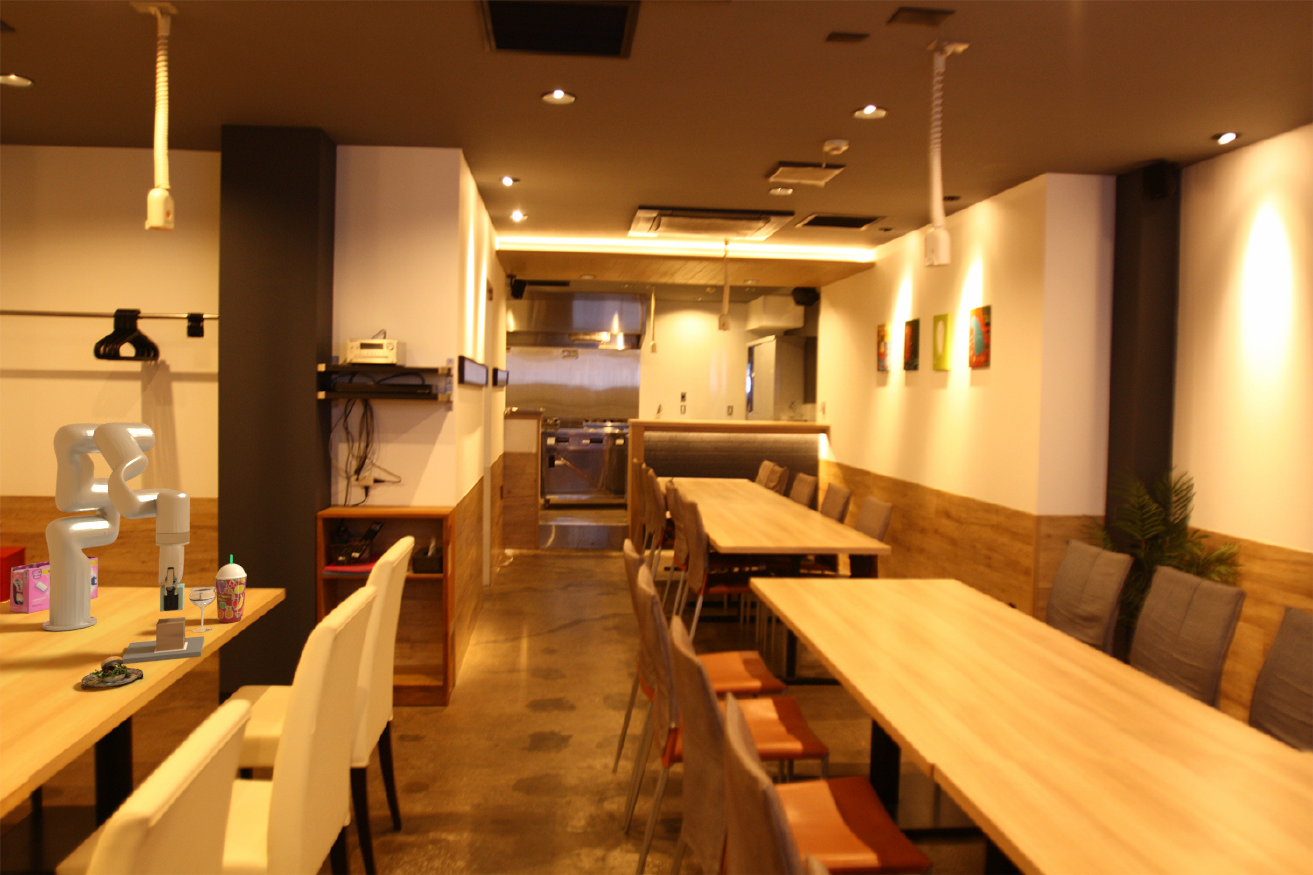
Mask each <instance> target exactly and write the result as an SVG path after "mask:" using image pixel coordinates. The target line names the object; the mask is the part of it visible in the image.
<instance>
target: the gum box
mask: <svg viewBox="0 0 1313 875" xmlns="http://www.w3.org/2000/svg"><path fill="white" fill-rule="evenodd" d="M86 556H87V555H86ZM87 558H88V559H89V561H90V564H91V600H93V599H97V598H98V595H99V594H98V593H99V592H98V590H99V586H98V583H99V578H98V576H99V575H98V574H99V571H98V570H99V557H96V556H89V555H88V556H87ZM10 571H11V572H10V590H9V591H10V593H9V611H10V612H16V613H23V614H31V613H36V612H40V611H41V612H42V611H46V610H49V598H50V560H47V561H42V562H38V563H37V562H36V563H30V564H25V565H19V566H13V567H11V570H10Z"/></svg>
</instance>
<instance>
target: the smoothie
mask: <svg viewBox="0 0 1313 875" xmlns="http://www.w3.org/2000/svg"><path fill="white" fill-rule="evenodd" d="M229 556H230V557H229V563H227V564H225V565H223V566H222V567H220V568H219V570H218V571H217V573H216V575H215V587H216V589H215V592H216V608H217V619H219V622H220V623H223V624H231V623H237V622H239V621H241V620H242V618H243V616H244V611H245V599H246V585H247V577H248V576H247V573H246V572H245V568H243V567H242V566H240V564H237V563H234V562H233V561H234V560H233V559H234V558H233V557H234V556H233V554H230V555H229Z"/></svg>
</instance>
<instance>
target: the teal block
mask: <svg viewBox="0 0 1313 875" xmlns="http://www.w3.org/2000/svg"><path fill="white" fill-rule="evenodd" d="M185 585H186V584H185V583H181V582H180V584H178V589H177V594H179V601H178V610H170V611H169V612H172V611H173V612H175V611H183V610H184V607H185ZM173 586H175V585H173ZM159 592H160V593H159V612H160V613H163V612H165V611H164V595H165V584H161V586H160V589H159Z"/></svg>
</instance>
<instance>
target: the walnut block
mask: <svg viewBox="0 0 1313 875" xmlns="http://www.w3.org/2000/svg"><path fill="white" fill-rule="evenodd" d="M155 634H156V635H155V639H156V640H155V641H156V652H158V651H169V650H179V649H183V648H184V645H185V638H186V616H180V617H178V616H177V617H165V618H158V620H157V622H156V633H155Z"/></svg>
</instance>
